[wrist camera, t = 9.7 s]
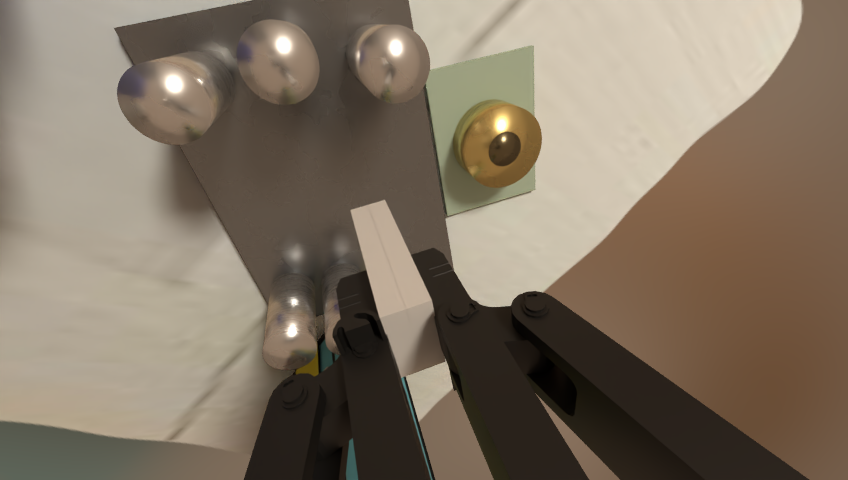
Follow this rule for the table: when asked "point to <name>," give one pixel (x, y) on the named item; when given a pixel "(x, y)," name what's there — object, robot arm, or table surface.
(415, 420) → the carton
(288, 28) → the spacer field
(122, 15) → the table surface
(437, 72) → the mat
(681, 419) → the robot arm
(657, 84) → the table surface
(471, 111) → the gold round knob
